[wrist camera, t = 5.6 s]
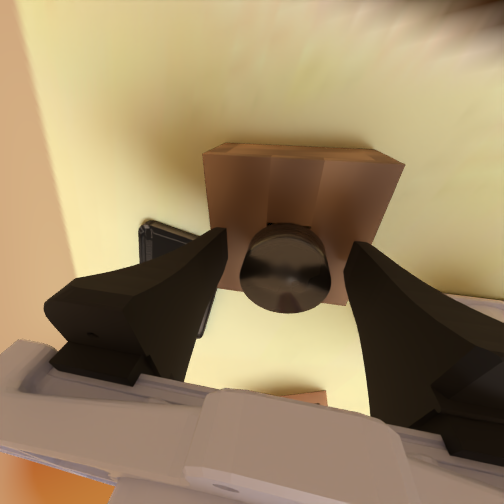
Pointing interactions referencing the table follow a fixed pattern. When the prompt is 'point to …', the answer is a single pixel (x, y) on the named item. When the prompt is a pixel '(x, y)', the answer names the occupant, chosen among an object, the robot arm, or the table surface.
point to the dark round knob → (285, 269)
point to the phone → (166, 249)
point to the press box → (298, 198)
